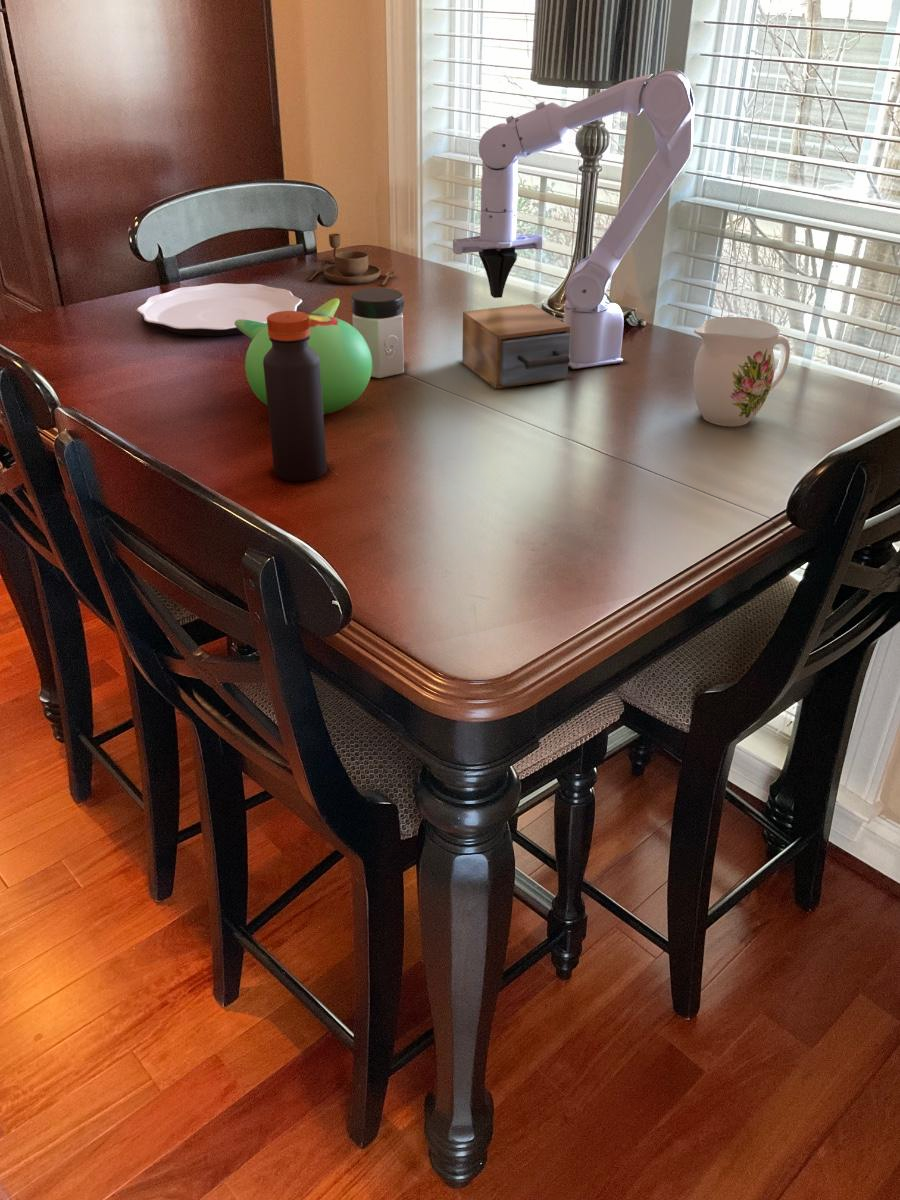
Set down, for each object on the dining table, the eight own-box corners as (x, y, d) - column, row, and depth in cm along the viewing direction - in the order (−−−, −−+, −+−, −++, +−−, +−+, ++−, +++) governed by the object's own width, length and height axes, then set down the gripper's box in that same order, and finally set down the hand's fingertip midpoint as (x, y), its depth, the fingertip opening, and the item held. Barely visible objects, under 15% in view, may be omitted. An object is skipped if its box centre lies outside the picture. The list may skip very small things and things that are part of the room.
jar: (367, 382, 154) (364, 305, 147) (343, 367, 159) (339, 292, 153) (416, 371, 158) (415, 296, 151) (390, 357, 164) (388, 284, 157)
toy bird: (266, 440, 134) (255, 334, 126) (237, 399, 147) (226, 301, 139) (389, 421, 140) (385, 318, 132) (351, 383, 153) (346, 288, 145)
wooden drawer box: (566, 378, 155) (570, 326, 151) (495, 389, 151) (497, 335, 147) (529, 353, 166) (531, 303, 161) (462, 362, 162) (462, 311, 157)
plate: (333, 310, 186) (332, 297, 185) (225, 352, 165) (223, 338, 164) (219, 287, 199) (218, 275, 198) (106, 323, 178) (103, 310, 177)
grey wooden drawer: (580, 385, 150) (583, 342, 147) (514, 394, 147) (516, 351, 143) (532, 352, 163) (534, 312, 160) (470, 360, 160) (471, 320, 156)
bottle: (264, 478, 124) (247, 321, 113) (290, 457, 130) (276, 305, 119) (312, 486, 122) (299, 328, 111) (336, 465, 127) (326, 311, 117)
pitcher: (804, 418, 142) (824, 324, 134) (707, 441, 135) (723, 342, 127) (752, 394, 150) (768, 304, 143) (658, 414, 143) (670, 320, 135)
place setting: (303, 283, 202) (301, 254, 199) (329, 260, 219) (327, 232, 216) (386, 287, 200) (385, 258, 197) (405, 264, 216) (405, 236, 213)
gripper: (461, 216, 149) (460, 306, 156) (551, 211, 152) (546, 299, 160) (449, 207, 155) (449, 294, 162) (535, 203, 158) (531, 288, 165)
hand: (496, 296), depth 161 cm, fingers closed
